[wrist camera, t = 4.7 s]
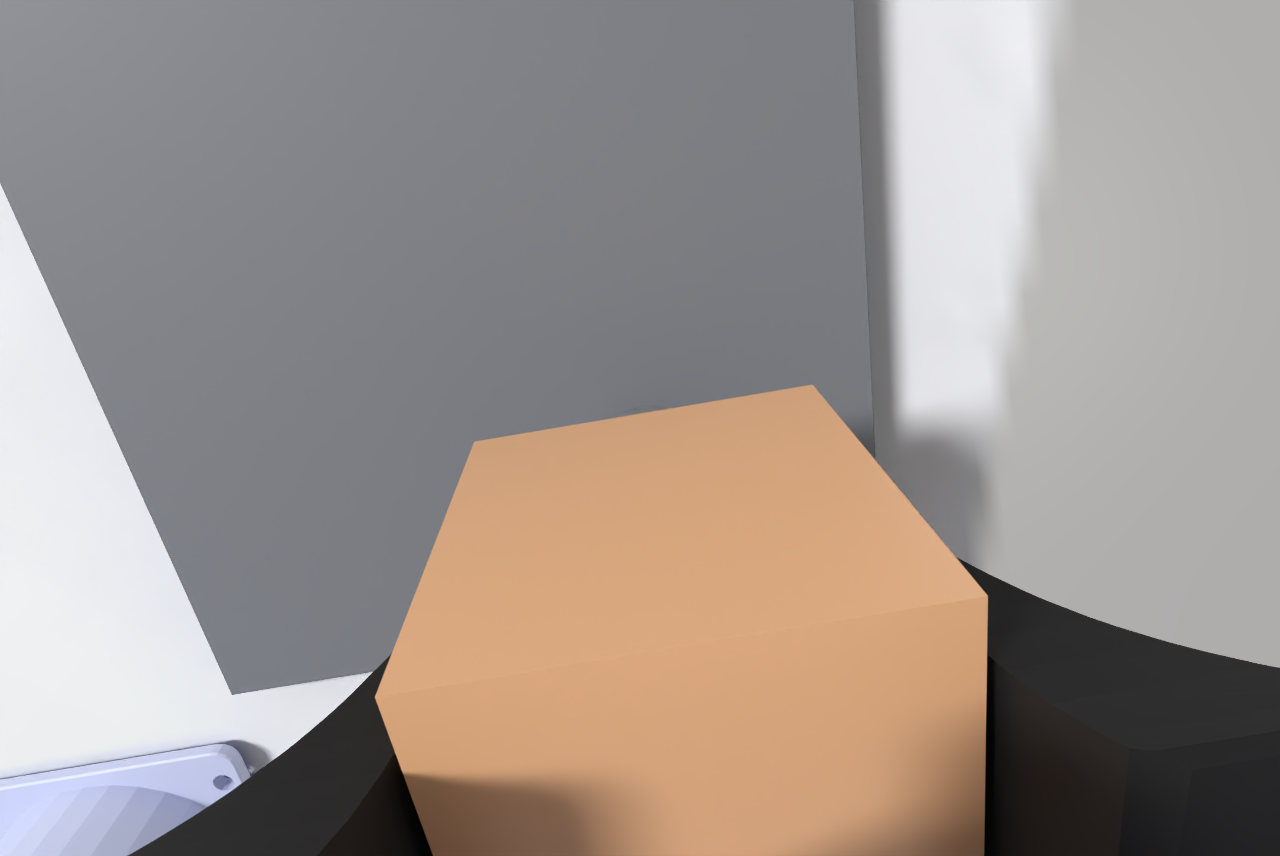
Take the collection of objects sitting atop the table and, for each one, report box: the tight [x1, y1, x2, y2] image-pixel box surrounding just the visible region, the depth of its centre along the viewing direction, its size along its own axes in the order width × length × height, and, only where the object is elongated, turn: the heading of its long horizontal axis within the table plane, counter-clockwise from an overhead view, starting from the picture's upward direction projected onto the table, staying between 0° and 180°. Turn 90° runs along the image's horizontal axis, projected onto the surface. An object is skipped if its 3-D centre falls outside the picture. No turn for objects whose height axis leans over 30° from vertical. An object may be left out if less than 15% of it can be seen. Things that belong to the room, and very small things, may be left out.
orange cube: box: [375, 385, 988, 856], centre depth 11 cm, size 6×6×6 cm
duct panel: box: [0, 0, 875, 695], centre depth 14 cm, size 18×16×5 cm
